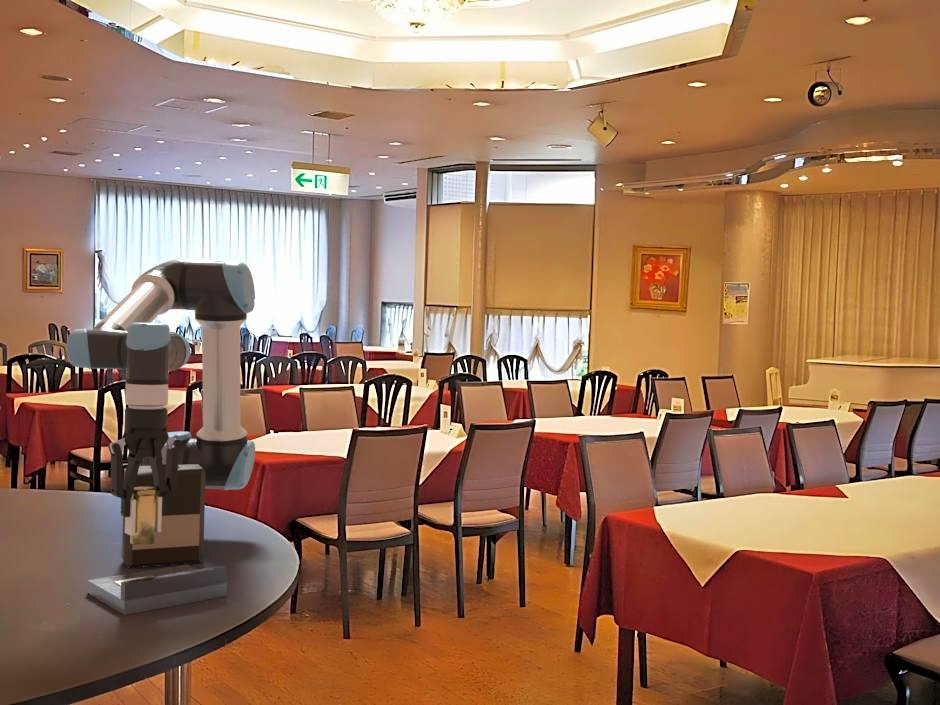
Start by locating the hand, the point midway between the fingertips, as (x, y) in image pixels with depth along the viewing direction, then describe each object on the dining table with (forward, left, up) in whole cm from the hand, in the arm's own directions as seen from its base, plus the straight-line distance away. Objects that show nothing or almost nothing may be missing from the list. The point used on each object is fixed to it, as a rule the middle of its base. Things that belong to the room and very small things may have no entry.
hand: (143, 532), depth 188 cm
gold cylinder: (0, 0, -2) cm, 2 cm away
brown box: (-15, -21, -13) cm, 29 cm away
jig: (-3, 0, -12) cm, 13 cm away
